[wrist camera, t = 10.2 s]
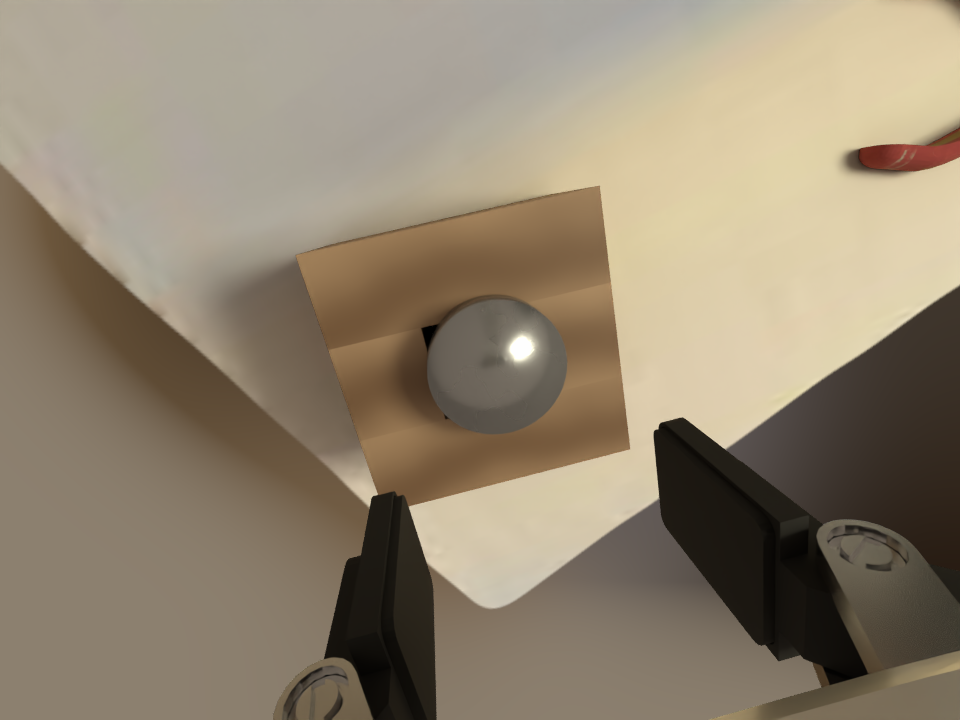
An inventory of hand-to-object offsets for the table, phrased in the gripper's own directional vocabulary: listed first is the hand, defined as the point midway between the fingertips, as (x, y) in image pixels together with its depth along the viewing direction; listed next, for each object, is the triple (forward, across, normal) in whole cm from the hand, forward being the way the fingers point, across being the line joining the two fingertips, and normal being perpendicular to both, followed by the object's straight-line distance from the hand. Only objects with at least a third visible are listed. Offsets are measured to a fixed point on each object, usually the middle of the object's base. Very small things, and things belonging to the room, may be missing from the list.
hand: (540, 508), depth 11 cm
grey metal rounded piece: (+19, -1, 0) cm, 19 cm away
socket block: (+20, 0, 0) cm, 20 cm away
